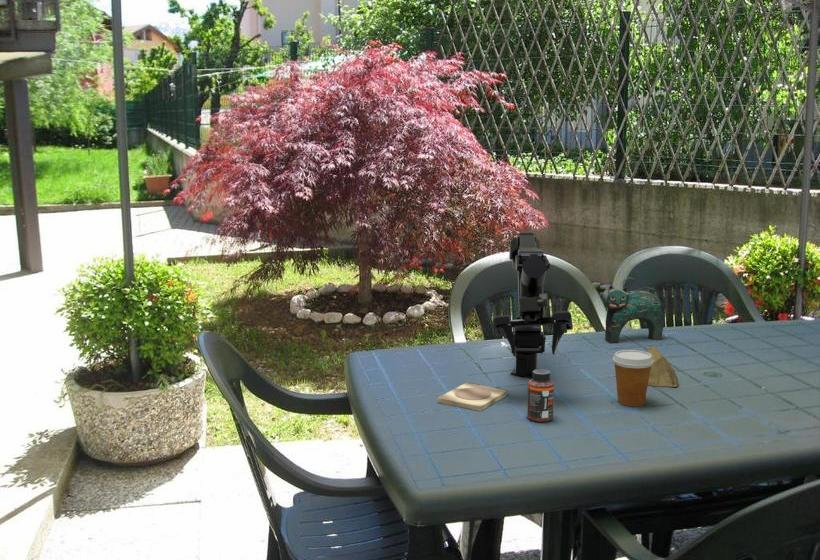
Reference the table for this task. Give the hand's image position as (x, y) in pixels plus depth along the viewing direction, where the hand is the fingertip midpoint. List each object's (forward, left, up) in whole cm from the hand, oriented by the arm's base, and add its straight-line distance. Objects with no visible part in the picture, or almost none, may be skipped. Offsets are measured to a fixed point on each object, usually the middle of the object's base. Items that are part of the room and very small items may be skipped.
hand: (533, 355), depth 208 cm
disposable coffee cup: (-14, +20, -13) cm, 27 cm away
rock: (-31, +21, -13) cm, 39 cm away
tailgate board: (+4, -14, -12) cm, 19 cm away
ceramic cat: (-71, 0, -13) cm, 72 cm away
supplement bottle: (+8, +6, -13) cm, 16 cm away
